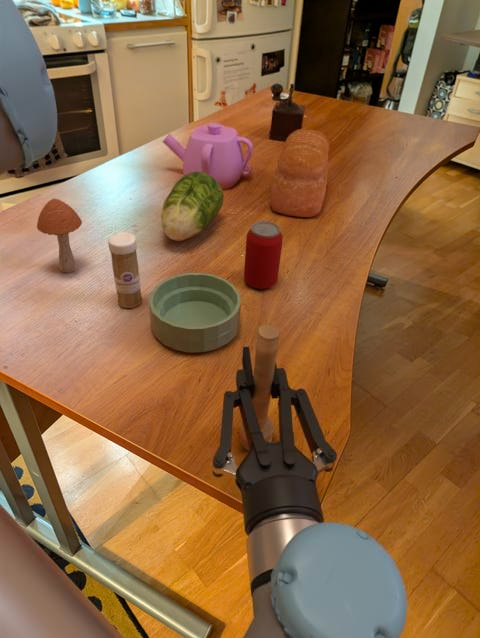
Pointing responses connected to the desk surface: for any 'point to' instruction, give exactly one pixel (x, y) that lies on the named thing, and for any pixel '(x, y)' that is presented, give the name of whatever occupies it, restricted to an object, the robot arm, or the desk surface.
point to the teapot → (213, 153)
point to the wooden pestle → (263, 380)
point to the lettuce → (191, 206)
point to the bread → (301, 174)
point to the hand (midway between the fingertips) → (257, 354)
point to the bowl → (195, 312)
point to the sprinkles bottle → (125, 269)
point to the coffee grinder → (285, 114)
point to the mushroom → (60, 229)
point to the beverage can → (262, 255)
